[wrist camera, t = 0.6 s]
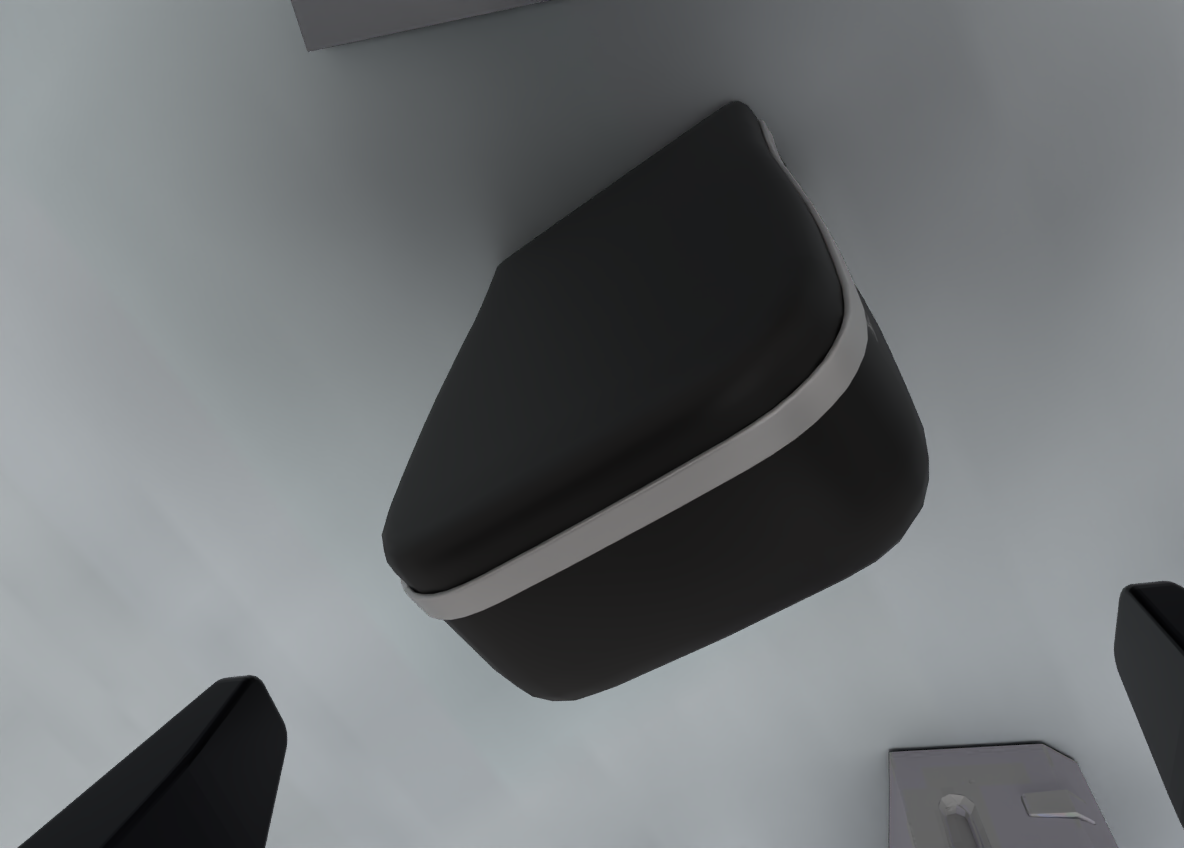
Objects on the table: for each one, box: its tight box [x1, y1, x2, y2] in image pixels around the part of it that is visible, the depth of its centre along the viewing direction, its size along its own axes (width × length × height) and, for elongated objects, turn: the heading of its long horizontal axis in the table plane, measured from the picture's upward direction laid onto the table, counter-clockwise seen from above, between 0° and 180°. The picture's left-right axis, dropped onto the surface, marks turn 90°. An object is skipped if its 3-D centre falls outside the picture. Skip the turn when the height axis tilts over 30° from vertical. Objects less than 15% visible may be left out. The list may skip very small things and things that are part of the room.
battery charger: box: [382, 101, 929, 701], centre depth 15 cm, size 7×4×11 cm, turn 126°
